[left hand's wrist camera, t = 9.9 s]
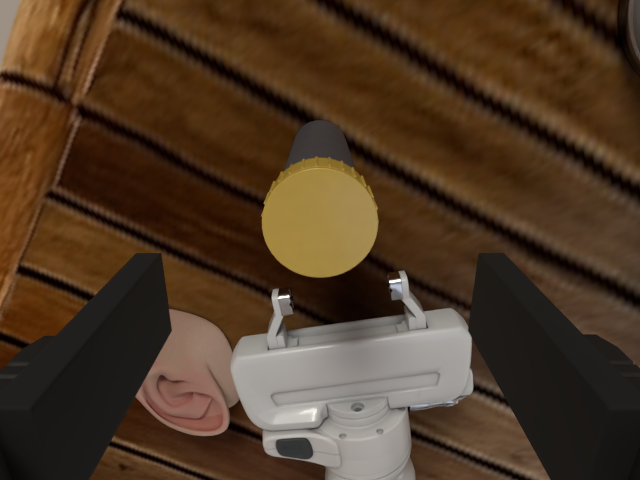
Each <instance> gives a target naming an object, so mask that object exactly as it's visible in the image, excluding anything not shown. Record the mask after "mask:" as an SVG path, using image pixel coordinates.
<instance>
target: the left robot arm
mask: <svg viewBox="0 0 640 480" xmlns="http://www.w3.org/2000/svg"><path fill="white" fill-rule="evenodd" d="M619 29H620V36H621V40H622V44H623V48H624V50H625V53H626V55H627V57H628V59H629V61H630V63H631V65H632V66H633V68H634V69H635V70H636V72H637V73H638V74H639V75H640V0H620V5H619ZM171 332H172V327H171V320H170V313H169V306H168V298H167V291H166V284H165V277H164V270H163V263H162V256H161V253H136V254H135V255H134V256H133V257H132V258H131V259H130V260H129V261H128V262H127V263H126V264H125V265H124V266H123V267H122V268H121V269H120V270H119V271H118V272H117V273H116V275H115V276H114V277H113V278H112V279H111V280H110V281H109V282H108V283H107V284H106V285H105V286H104V287H103V288H102V289H101V290H100V291H99V292H98V293H97V294H96V295H95V296H94V297H93V298H92V299H91V300H90V301H89V302H88V303H87V304H86V305H85V306H84V307H83V308H82V309H81V311H80V312H79V313H78V314H77V315H76V316H75V317H74V318H73V319H72V320H71V321H70V322H69V323H68V324H67V325H66V326H65V327H64V328H63V329H62V330H61V331H60V332H59V333H58V334H57V335H56V336H44V337H42V338H40V339H39V340H37V341H35V342H34V343H32V344H30V345H28V346H27V347H25V348H23V349H22V350H21V351H20V352H19V353H18V354H17V355H16V356H15V357H14V358H13V359H12V360H11V361H10V362H9V363H8V366H4V367H3V368H2V369H1V370H0V480H89V479H90V477H91V476H92V474H93V472H94V470H95V468H96V467H97V465H98V463H99V461H100V459H101V458H102V456H103V454H104V452H105V450H106V449H107V447H108V445H109V443H110V441H111V440H112V438H113V436H114V434H115V432H116V431H117V429H118V427H119V425H120V423H121V422H122V420H123V418H124V416H125V414H126V413H127V411H128V409H129V407H130V405H131V404H132V402H133V400H134V398H135V396H136V395H137V393H138V391H139V389H140V387H141V386H142V384H143V382H144V380H145V378H146V377H147V375H148V373H149V371H150V369H151V368H152V366H153V364H154V362H155V360H156V359H157V357H158V355H159V353H160V351H161V350H162V348H163V346H164V344H165V342H166V341H167V339H168V337H169V335H170V333H171ZM468 332H469V333H470V335H471V337H472V339H473V341H474V342H475V344H476V346H477V348H478V350H479V351H480V353H481V355H482V357H483V359H484V360H485V362H486V364H487V366H488V368H489V369H490V371H491V373H492V375H493V377H494V378H495V380H496V382H497V384H498V386H499V387H500V389H501V391H502V393H503V395H504V396H505V398H506V400H507V402H508V404H509V405H510V407H511V409H512V411H513V413H514V414H515V416H516V418H517V420H518V422H519V423H520V425H521V427H522V429H523V431H524V432H525V434H526V436H527V438H528V440H529V441H530V443H531V445H532V447H533V449H534V450H535V452H536V454H537V456H538V458H539V459H540V461H541V463H542V465H543V467H544V468H545V470H546V472H547V474H548V476H549V477H550V479H551V480H640V368H639V367H638V366H637V365H633V362H632V361H631V360H630V359H629V358H628V357H627V356H626V355H625V354H624V353H623V352H622V351H621V350H620V349H619V348H618V347H616V346H615V345H613V344H611V343H609V342H608V341H606V340H604V339H602V338H601V337H599V336H597V335H583V334H582V333H581V332H580V331H579V330H578V329H577V328H576V327H575V326H574V325H573V324H572V323H571V322H570V321H569V320H568V319H567V318H566V317H565V316H564V315H563V314H562V313H561V312H560V311H559V309H558V308H557V307H556V306H555V305H554V304H553V303H552V302H551V301H550V300H549V299H548V298H547V297H546V296H545V295H544V294H543V293H542V292H541V291H540V290H539V289H538V288H537V287H536V286H535V285H534V284H533V283H532V282H531V281H530V280H529V279H528V278H527V277H526V276H525V275H524V273H523V272H522V271H521V270H520V269H519V268H518V267H517V266H516V265H515V264H514V263H513V262H512V261H511V260H510V259H509V258H508V257H507V256H506V255H505V254H504V253H479V256H478V263H477V270H476V277H475V284H474V291H473V298H472V305H471V313H470V320H469V327H468Z"/></svg>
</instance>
